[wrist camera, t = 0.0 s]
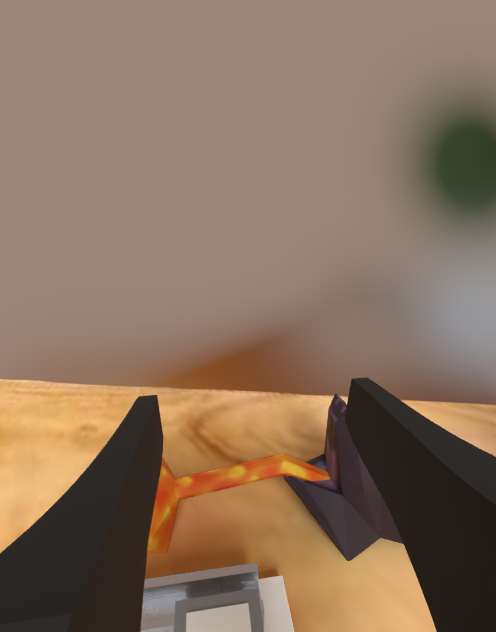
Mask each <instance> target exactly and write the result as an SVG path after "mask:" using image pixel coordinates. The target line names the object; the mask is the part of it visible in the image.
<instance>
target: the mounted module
mask: <svg viewBox="0 0 496 632" xmlns="http://www.w3.org/2000/svg"><path fill="white" fill-rule="evenodd" d="M174 632H264V628H263V621H262V614H261V607H260V600H259V593H258V588H254V589H248V590H242V591H235V592H229V593H223V594H216V595H210V596H204V597H197V598H191V599H185V600H179V601H175V617H174Z"/></svg>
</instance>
